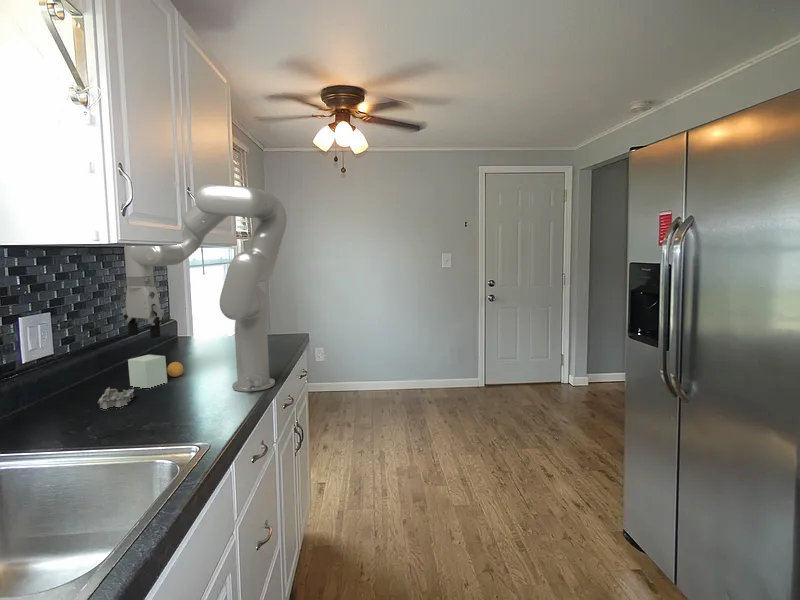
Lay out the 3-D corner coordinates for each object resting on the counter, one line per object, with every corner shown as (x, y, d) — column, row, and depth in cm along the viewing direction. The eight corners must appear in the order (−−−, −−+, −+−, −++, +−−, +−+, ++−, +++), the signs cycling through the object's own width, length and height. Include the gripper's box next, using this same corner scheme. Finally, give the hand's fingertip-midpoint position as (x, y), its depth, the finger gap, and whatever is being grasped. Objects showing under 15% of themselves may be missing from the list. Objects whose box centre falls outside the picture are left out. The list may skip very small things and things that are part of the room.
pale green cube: (147, 389, 152) (144, 361, 151) (130, 386, 155) (127, 359, 154) (167, 382, 158) (165, 356, 157) (150, 380, 161) (148, 354, 160)
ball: (182, 377, 164) (181, 363, 164) (166, 379, 163) (165, 364, 163) (185, 374, 169) (184, 359, 168) (169, 375, 168) (168, 360, 167)
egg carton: (109, 400, 143) (108, 386, 142) (137, 397, 144) (136, 384, 144) (95, 412, 132) (93, 397, 132) (125, 409, 134) (124, 394, 133)
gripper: (170, 282, 153) (174, 336, 155) (131, 280, 160) (135, 332, 162) (149, 283, 146) (153, 340, 148) (110, 282, 153) (114, 336, 155)
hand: (144, 336), depth 155 cm, fingers open, 9 cm apart
